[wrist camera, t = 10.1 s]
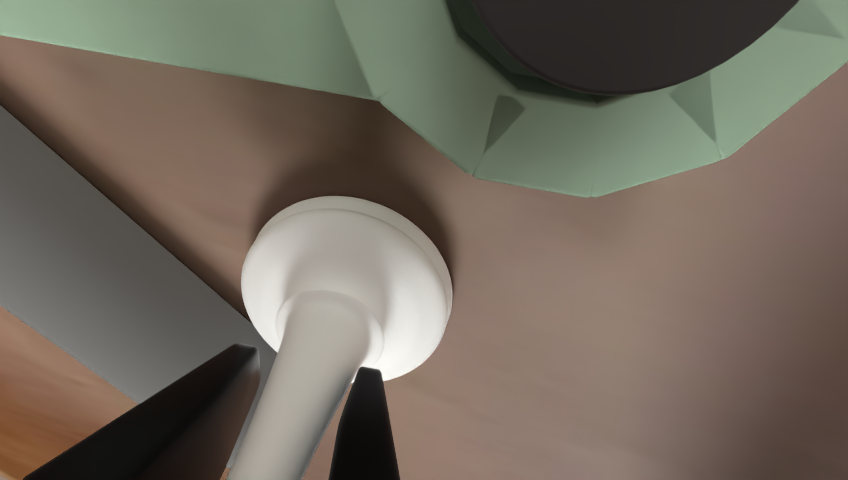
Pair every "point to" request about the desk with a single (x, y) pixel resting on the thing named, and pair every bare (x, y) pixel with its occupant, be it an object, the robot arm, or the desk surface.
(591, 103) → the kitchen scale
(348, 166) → the desk surface
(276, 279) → the chess piece
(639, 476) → the desk surface
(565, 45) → the button
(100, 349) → the gray half cylinder
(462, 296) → the desk surface
